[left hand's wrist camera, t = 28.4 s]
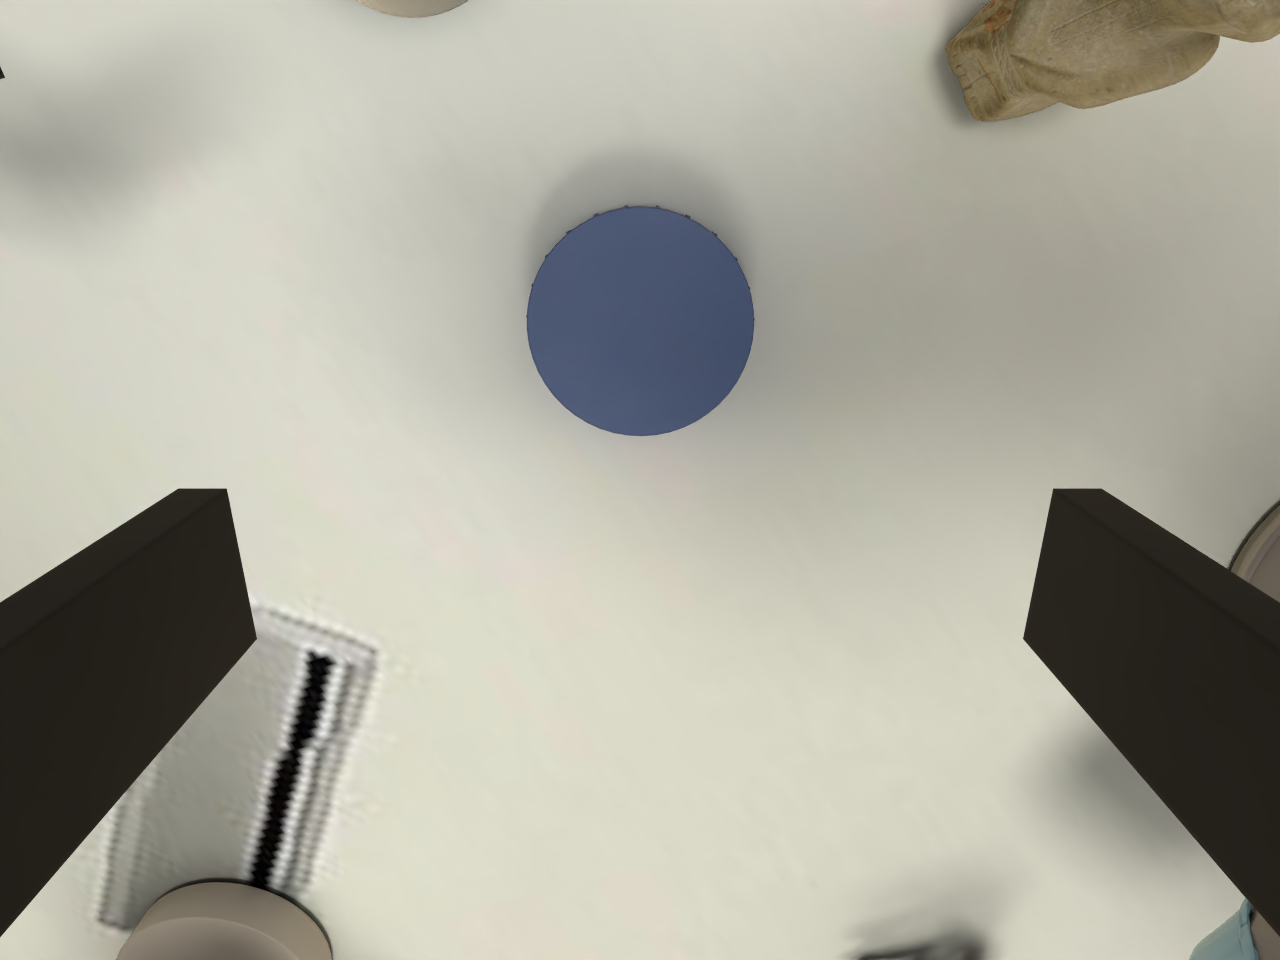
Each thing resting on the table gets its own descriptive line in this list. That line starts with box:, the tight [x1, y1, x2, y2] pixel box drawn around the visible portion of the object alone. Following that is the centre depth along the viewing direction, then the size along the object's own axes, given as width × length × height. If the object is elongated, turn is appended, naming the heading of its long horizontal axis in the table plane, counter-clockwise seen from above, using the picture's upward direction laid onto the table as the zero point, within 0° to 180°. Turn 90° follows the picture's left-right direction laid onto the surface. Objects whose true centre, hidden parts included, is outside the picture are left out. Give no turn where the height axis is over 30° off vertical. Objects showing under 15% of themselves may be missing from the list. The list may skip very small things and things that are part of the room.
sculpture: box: [946, 0, 1280, 122], centre depth 26 cm, size 6×7×15 cm
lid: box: [527, 205, 754, 436], centre depth 36 cm, size 10×10×2 cm
